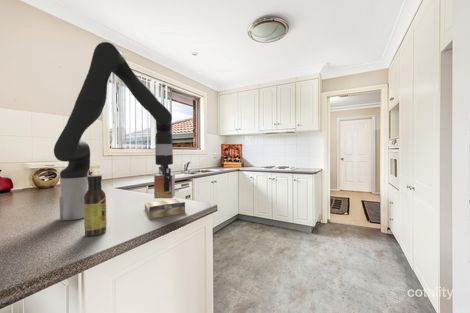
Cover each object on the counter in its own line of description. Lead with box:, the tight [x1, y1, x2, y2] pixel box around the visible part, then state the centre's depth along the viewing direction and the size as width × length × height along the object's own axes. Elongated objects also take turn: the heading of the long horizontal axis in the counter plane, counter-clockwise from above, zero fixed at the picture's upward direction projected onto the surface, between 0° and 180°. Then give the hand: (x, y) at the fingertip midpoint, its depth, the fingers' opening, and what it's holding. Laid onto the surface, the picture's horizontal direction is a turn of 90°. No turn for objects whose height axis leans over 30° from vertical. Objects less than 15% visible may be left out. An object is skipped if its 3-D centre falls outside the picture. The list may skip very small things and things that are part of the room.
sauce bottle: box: [83, 174, 107, 237], centre depth 69 cm, size 6×6×20 cm
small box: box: [153, 173, 176, 200], centre depth 92 cm, size 8×6×10 cm
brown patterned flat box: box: [144, 198, 186, 219], centre depth 94 cm, size 15×16×5 cm
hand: (164, 189), depth 92 cm, fingers closed on small box, 7 cm apart
